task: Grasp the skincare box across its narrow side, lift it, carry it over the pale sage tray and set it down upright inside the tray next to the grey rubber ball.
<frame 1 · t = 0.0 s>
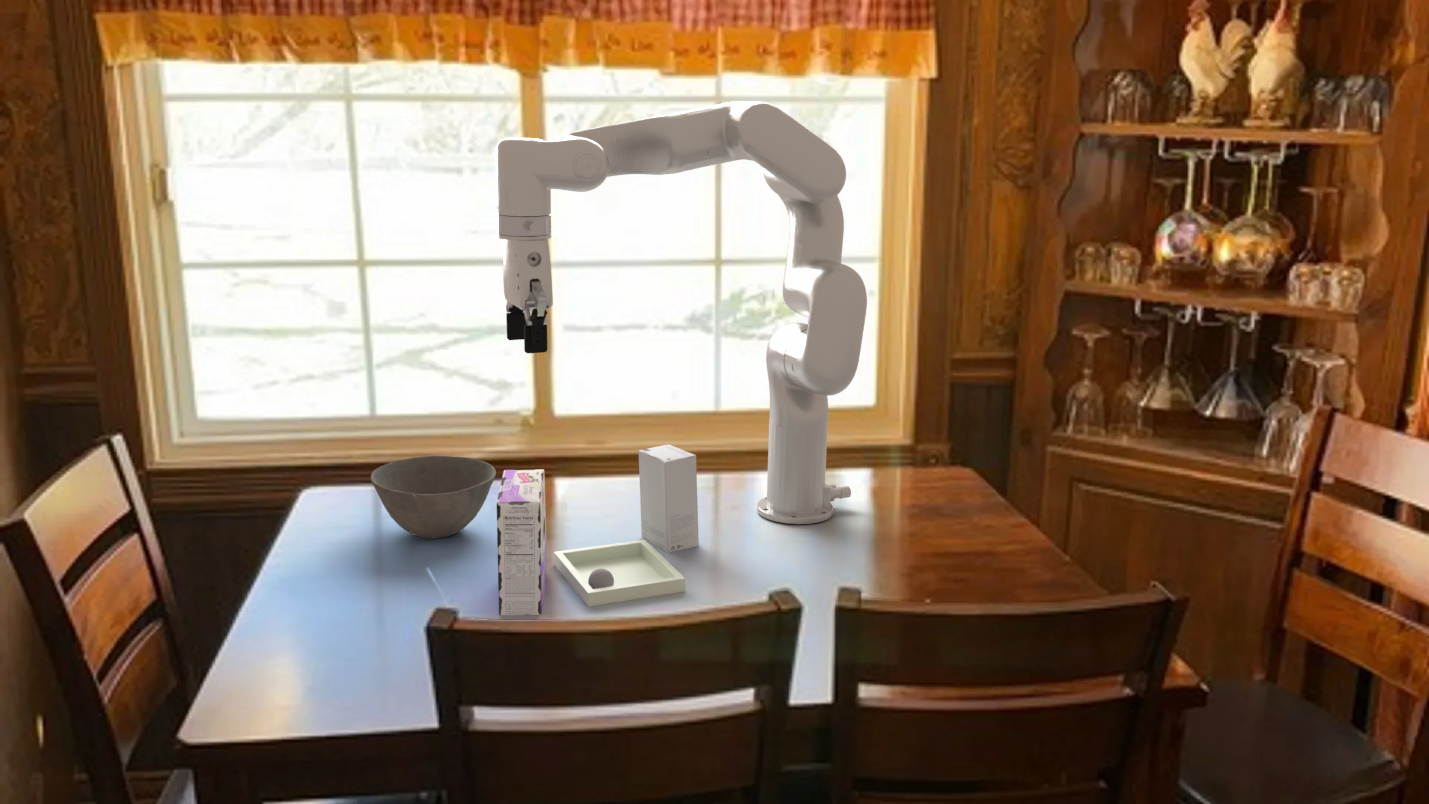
hand: (526, 345, 178), 31 cm above the table, fingers open, 9 cm apart
ball: (601, 593, 168), point 1 cm above the table, touching tray
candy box: (523, 599, 167), on the table
skincare box: (668, 545, 188), on the table
tray: (617, 581, 174), on the table
bowl: (436, 535, 191), on the table
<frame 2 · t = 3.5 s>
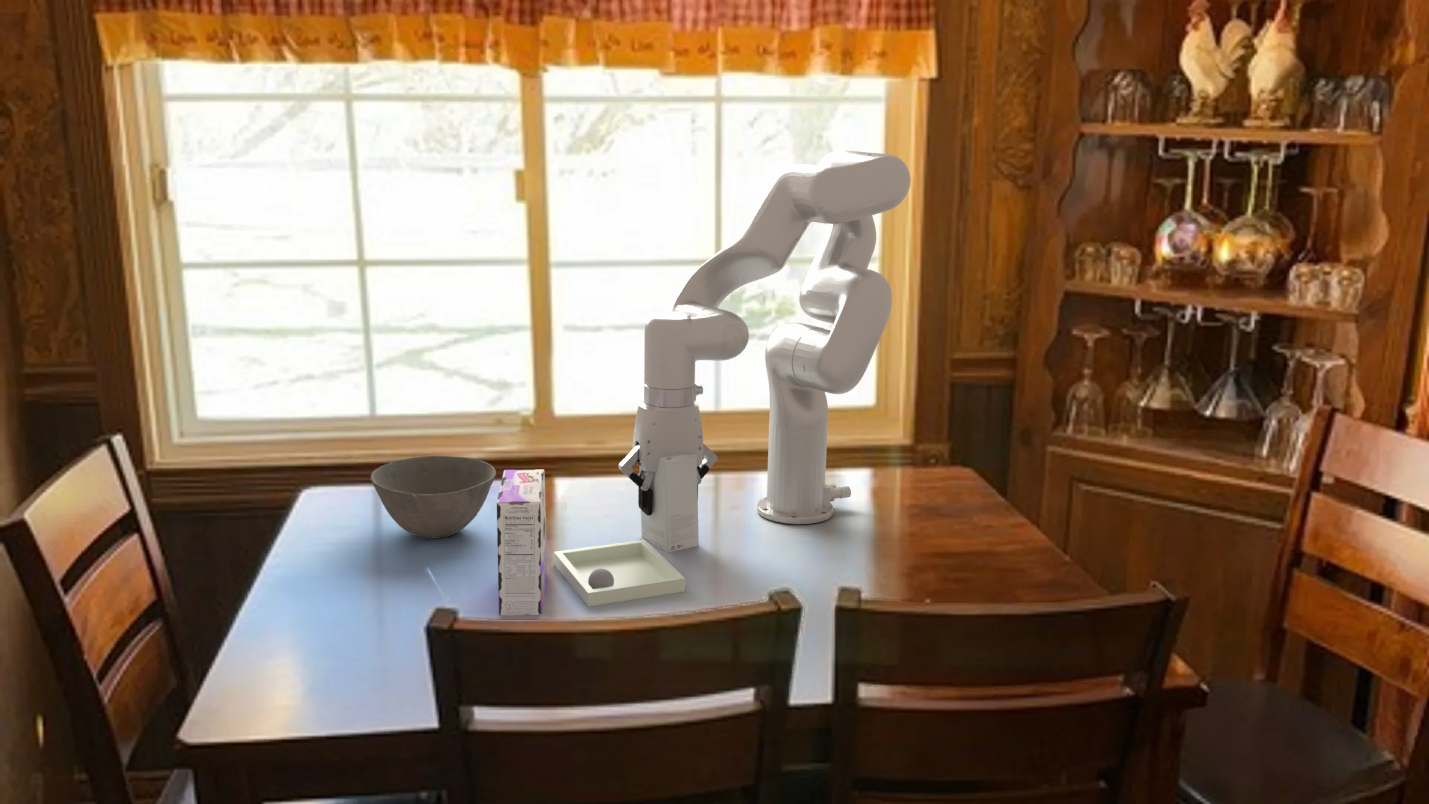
hand: (668, 509, 187), 6 cm above the table, fingers closed on skincare box, 6 cm apart
skincare box: (668, 545, 188), on the table, touching gripper
everything else where it was.
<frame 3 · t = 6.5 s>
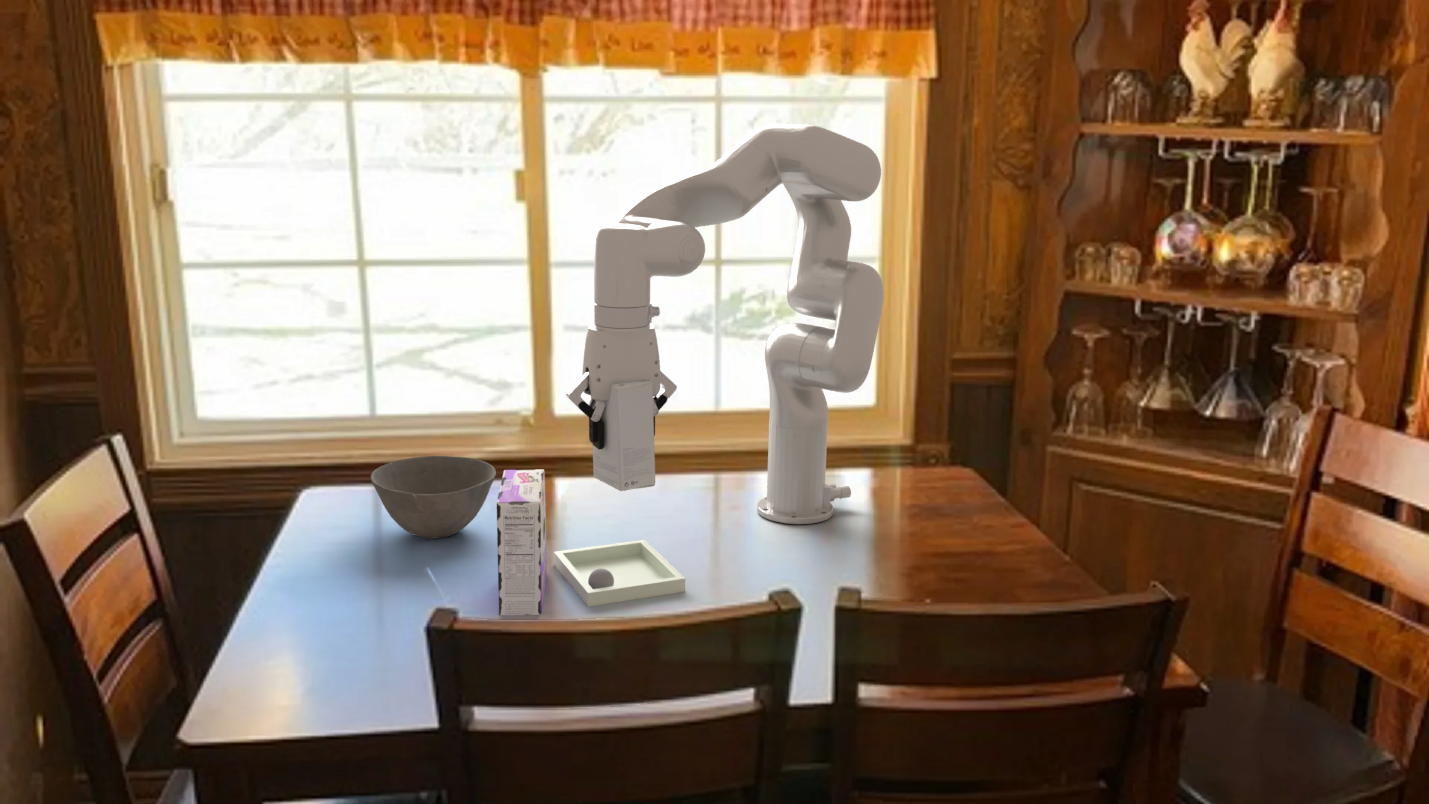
hand: (622, 443, 170), 20 cm above the table, fingers closed on skincare box, 6 cm apart
skincare box: (622, 483, 171), point 14 cm above the table, touching gripper
everything else where it was.
when the fingers open (8 cm above the table, at t = 9.5 s): skincare box drops 1 cm, resting on tray.
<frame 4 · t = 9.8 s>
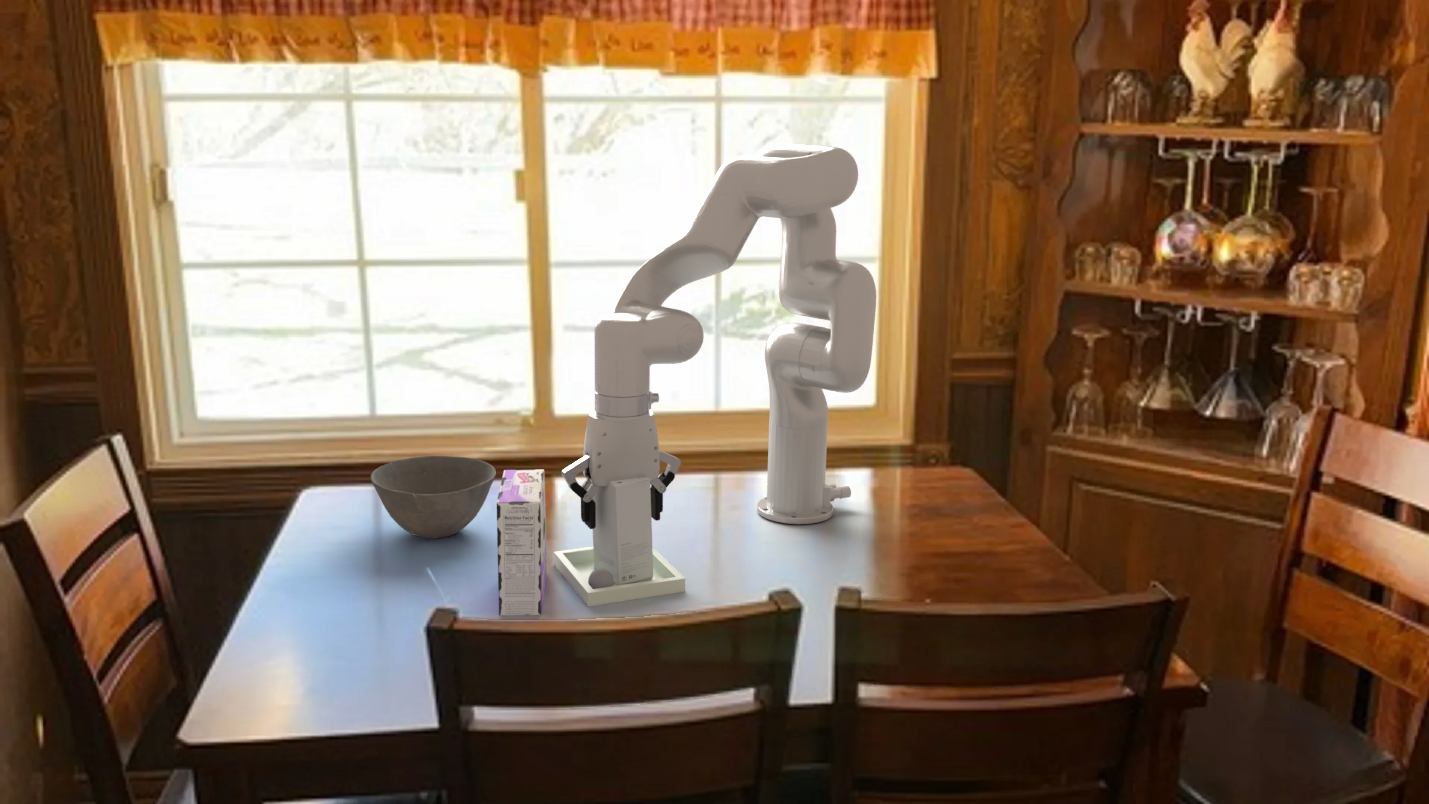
hand: (622, 521, 173), 8 cm above the table, fingers open, 9 cm apart
skincare box: (621, 574, 175), resting on tray
everything else where it was.
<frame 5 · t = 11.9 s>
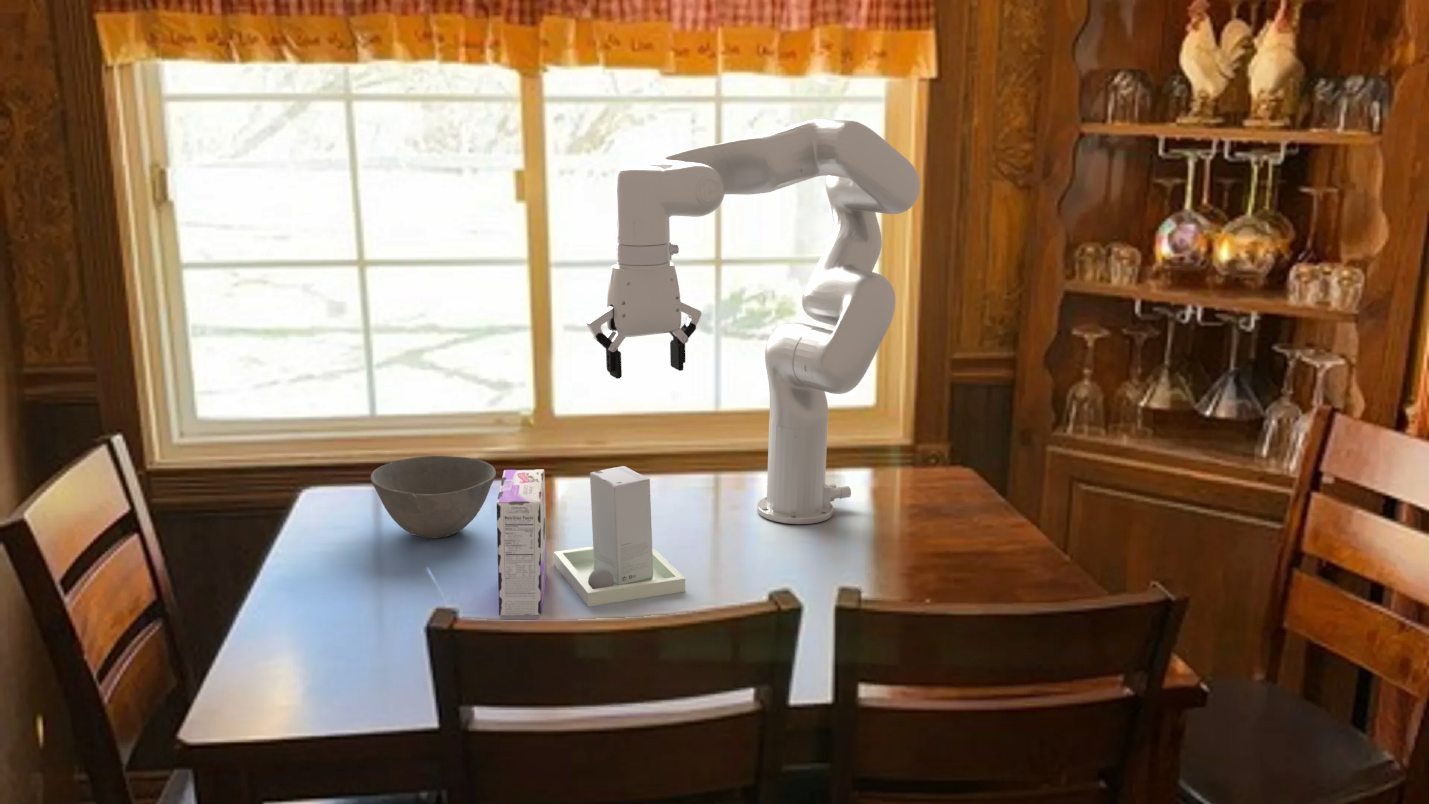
hand: (646, 372, 178), 28 cm above the table, fingers open, 9 cm apart
nothing on the table moved.
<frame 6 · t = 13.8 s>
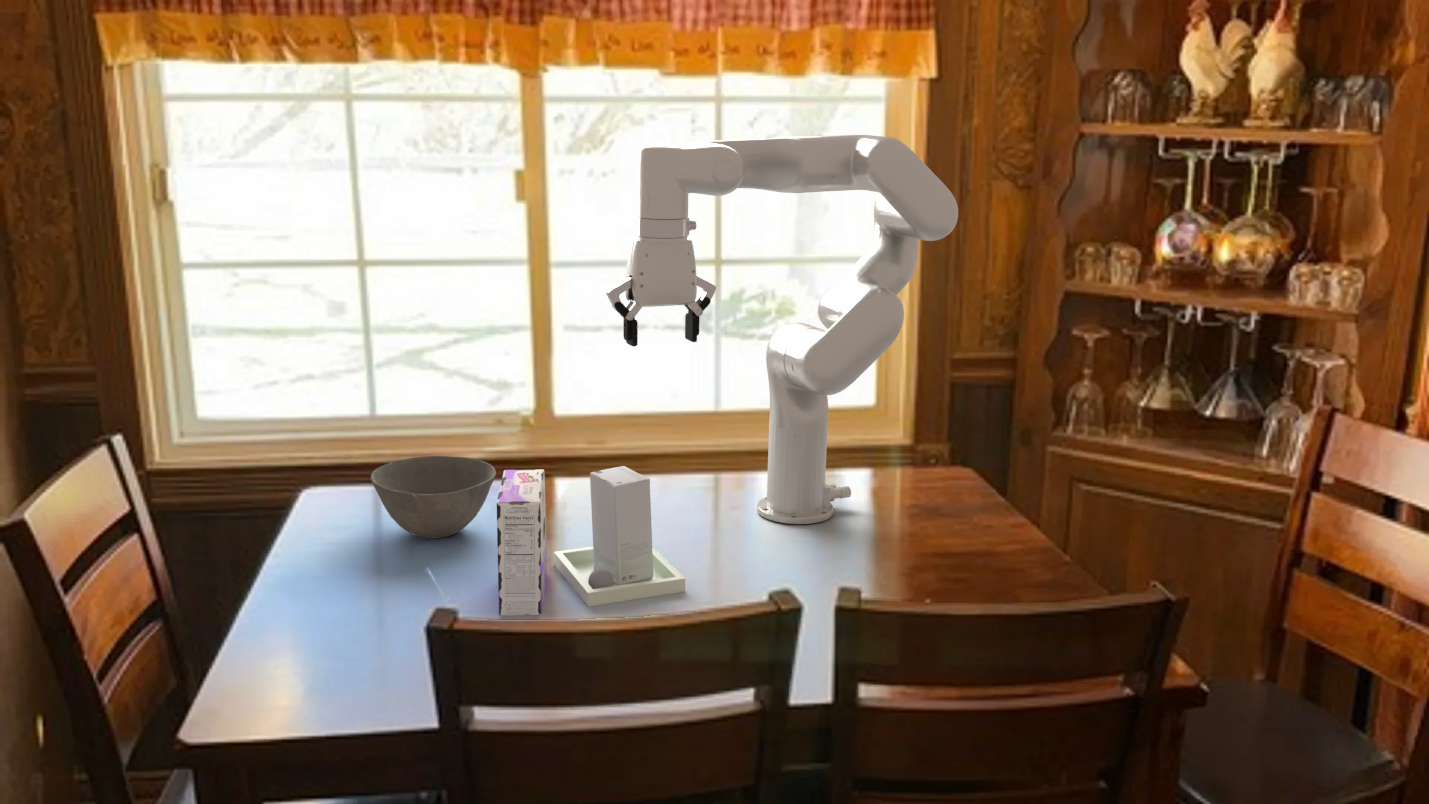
hand: (661, 342, 186), 30 cm above the table, fingers open, 9 cm apart
nothing on the table moved.
at the end: skincare box inside the target area on the tray (1.4 cm from its centre), point 0.4 cm above the tray's base; skincare box tilted 0°; the gripper is holding nothing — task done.
